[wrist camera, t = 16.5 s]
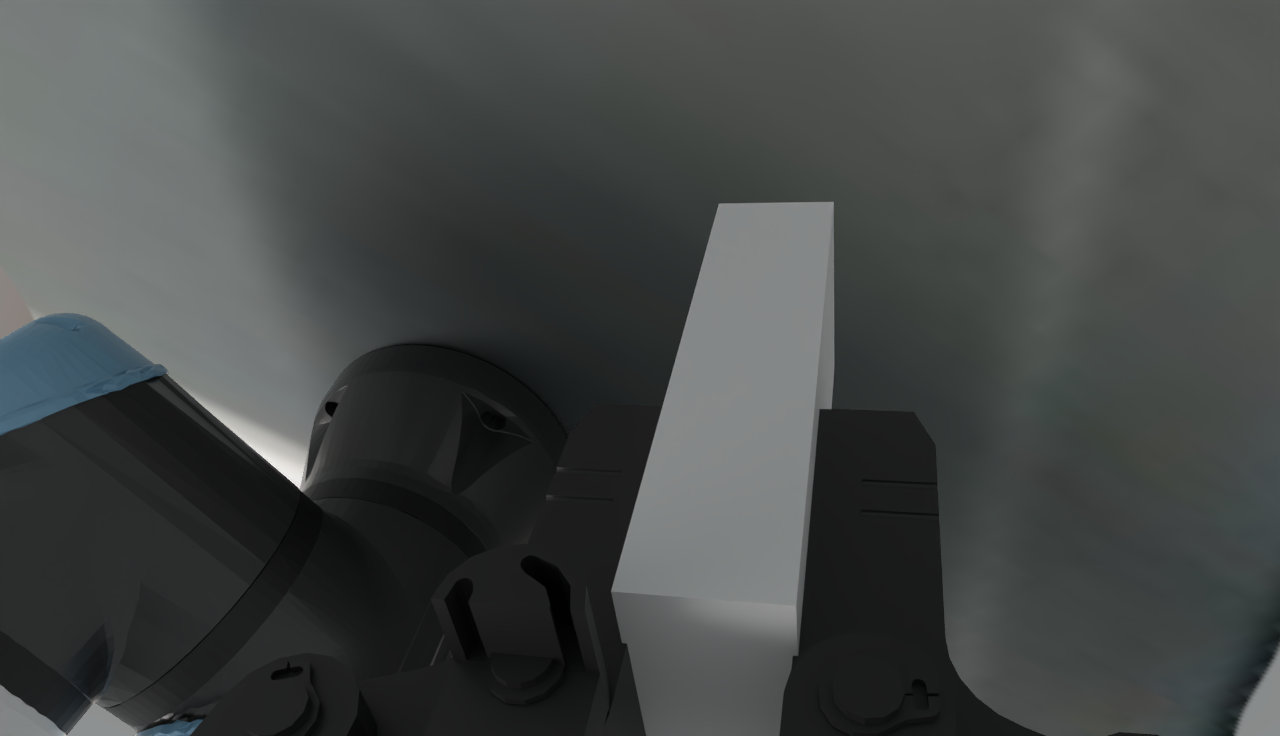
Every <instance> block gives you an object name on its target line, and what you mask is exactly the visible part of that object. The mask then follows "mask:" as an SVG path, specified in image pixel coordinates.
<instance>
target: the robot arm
mask: <svg viewBox="0 0 1280 736" xmlns="http://www.w3.org/2000/svg"><path fill="white" fill-rule="evenodd" d="M168 374H169V371H167V369H166V368H165V367H163V366H162V365H161V364H153V363H152V362H151V361H149V360H148V359H147V358H145V357H144V356H143V355H141V354H140V353H139V352H137V351H136V350H135V349H134V348H132V347H131V346H130V345H128V344H127V343H126V342H124V341H123V340H122V339H120V338H119V337H118V336H116V335H115V334H114V333H112V332H111V331H110V330H109V329H107V328H106V327H105V326H104V325H102V324H101V323H99V322H98V321H96V320H94V319H92V318H89V317H87V316H84V315H79V314H73V313H61V314H52V315H48V316H45V317H42V318H39V319H37V320H34V321H32V322H30V323H29V324H27V325H25V326H23V327H21V328H19V329H18V330H16V331H14V332H12V333H11V334H9V335H7V336H6V337H4V338H2V339H0V736H66V735H67V734H68V733H69V732H70V731H71V729H72V728H73V727H74V726H75V724H76V723H77V722H78V721H79V720H80V719H81V717H82V716H83V715H84V714H85V713H86V711H87V710H88V709H89V708H90V707H91V705H93V704H94V703H96V704H98V705H99V706H101V707H102V708H104V709H106V710H107V711H109V712H110V713H112V714H113V715H115V716H116V717H118V718H119V719H121V720H122V721H123V722H125V723H127V724H128V725H129V726H131V727H132V728H133V729H134V730H135V731H136V733H137V734H136V735H134V736H1045V735H1043V734H1040V733H1037V732H1035V731H1032V730H1030V729H1027V728H1025V727H1023V726H1021V725H1019V724H1017V723H1015V722H1013V721H1011V720H1009V719H1007V718H1005V717H1003V716H1001V715H999V714H997V713H996V712H995V711H993V710H992V709H991V708H989V707H988V706H987V705H985V704H984V703H983V702H982V701H980V700H979V699H978V698H976V697H975V695H974V694H973V693H972V692H971V691H970V690H969V688H968V687H967V686H966V685H965V684H964V682H963V681H962V680H961V679H960V678H959V676H958V674H957V672H956V670H955V668H954V666H953V664H952V662H951V660H950V658H949V654H948V649H947V644H946V639H945V624H944V605H943V585H942V566H941V546H940V527H939V507H938V490H937V468H936V449H935V444H934V442H933V441H932V439H931V438H930V436H929V435H928V433H927V432H926V430H925V429H924V427H923V426H922V424H921V423H920V421H919V420H918V418H917V417H916V415H915V413H914V412H900V411H870V410H839V409H832V395H833V381H834V202H792V203H724V204H719V205H718V209H717V212H716V216H715V219H714V223H713V227H712V230H711V234H710V237H709V241H708V245H707V248H706V252H705V255H704V259H703V263H702V266H701V270H700V273H699V277H698V281H697V284H696V288H695V291H694V295H693V299H692V302H691V306H690V309H689V313H688V317H687V320H686V324H685V327H684V331H683V334H682V338H681V342H680V345H679V349H678V352H677V356H676V360H675V363H674V367H673V370H672V374H671V378H670V381H669V385H668V388H667V392H666V396H665V399H664V403H663V406H632V405H603V404H598V405H597V406H596V407H595V408H594V409H593V410H592V411H591V412H590V413H589V414H588V415H587V416H586V417H585V418H584V419H583V420H582V421H581V422H580V423H579V424H578V425H577V426H576V427H575V428H574V429H573V430H572V431H571V432H570V433H569V435H568V438H566V436H565V434H564V432H563V430H562V428H561V427H560V425H559V423H558V422H557V420H556V419H555V417H554V416H553V415H552V413H551V412H550V411H549V410H548V408H547V407H546V406H545V405H544V404H543V403H542V402H541V401H540V400H539V399H538V398H537V397H536V396H535V395H534V394H533V393H532V392H531V391H530V390H529V389H527V388H526V387H525V386H524V385H522V384H521V383H520V382H518V381H517V380H516V379H514V378H513V377H511V376H510V375H508V374H507V373H505V372H503V371H501V370H500V369H498V368H496V367H494V366H492V365H490V364H488V363H486V362H484V361H482V360H479V359H477V358H474V357H472V356H469V355H466V354H463V353H460V352H457V351H453V350H449V349H444V348H439V347H432V346H423V345H402V346H393V347H387V348H383V349H379V350H376V351H373V352H370V353H368V354H366V355H364V356H362V357H360V358H358V359H357V360H355V361H354V362H353V363H351V364H350V365H349V366H348V367H347V368H346V369H345V370H344V371H343V372H342V373H341V374H340V376H339V377H338V379H337V380H336V381H335V383H334V384H333V386H332V387H331V389H330V390H329V391H328V393H327V394H326V396H325V397H324V399H323V400H322V402H321V404H320V407H319V409H318V411H317V414H316V417H315V421H314V425H313V430H312V434H311V439H310V444H309V449H308V453H307V458H306V463H305V468H304V472H303V477H302V482H301V487H300V490H299V489H298V487H297V486H295V485H294V484H293V483H292V482H291V481H290V480H288V479H287V478H286V477H285V476H284V475H283V474H281V473H280V472H279V471H278V470H277V469H276V468H274V467H273V466H272V465H271V464H270V463H269V462H267V461H266V460H265V459H264V458H263V457H261V456H260V455H259V454H258V453H257V452H256V451H254V450H253V449H252V448H251V447H250V446H249V445H247V444H246V443H245V442H244V441H243V440H242V439H240V438H239V437H238V436H237V435H236V434H235V433H233V432H232V431H231V430H230V429H229V428H228V427H226V426H225V425H224V424H223V423H222V422H220V421H219V420H218V419H217V418H216V417H215V416H213V415H212V414H211V413H210V412H209V411H208V410H206V409H205V408H204V407H203V406H202V405H201V404H199V403H198V402H197V401H196V400H195V399H194V398H193V397H192V396H190V395H189V394H188V393H187V392H186V391H185V390H184V389H183V388H182V387H180V386H179V385H178V384H177V383H176V382H175V381H174V380H173V379H171V378H170V377H169V376H168ZM1109 736H1159V735H1152V734H1137V733H1122V732H1119V733H1115V734H1112V735H1109Z"/></svg>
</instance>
